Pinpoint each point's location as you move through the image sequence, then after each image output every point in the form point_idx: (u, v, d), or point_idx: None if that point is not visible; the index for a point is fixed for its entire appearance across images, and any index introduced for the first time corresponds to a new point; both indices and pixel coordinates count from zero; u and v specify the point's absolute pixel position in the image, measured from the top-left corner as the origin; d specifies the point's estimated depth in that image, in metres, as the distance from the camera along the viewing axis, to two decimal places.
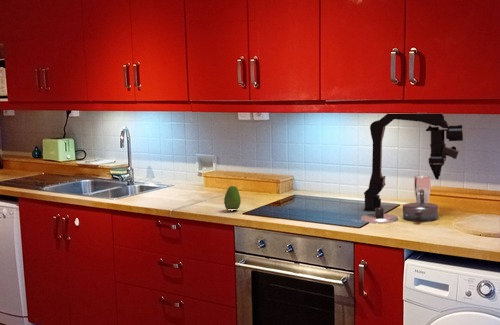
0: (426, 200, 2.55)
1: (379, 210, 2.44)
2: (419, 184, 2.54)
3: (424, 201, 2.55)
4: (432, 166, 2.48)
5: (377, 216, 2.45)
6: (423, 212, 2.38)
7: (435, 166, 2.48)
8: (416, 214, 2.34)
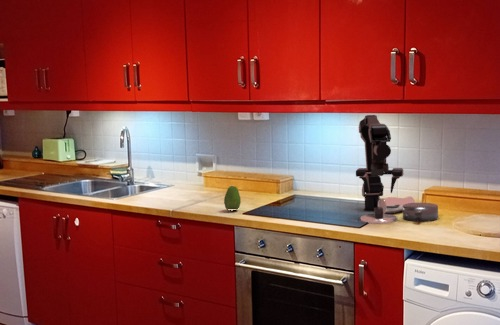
0: (402, 198, 2.57)
1: (378, 210, 2.44)
2: (392, 204, 2.52)
3: (404, 199, 2.57)
4: None
5: (376, 216, 2.44)
6: (423, 212, 2.38)
7: None
8: (416, 214, 2.34)
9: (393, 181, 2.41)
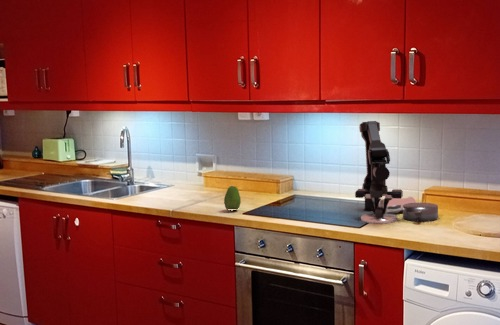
0: (404, 199, 2.56)
1: (379, 209, 2.43)
2: (393, 207, 2.52)
3: (405, 201, 2.56)
4: None
5: (377, 216, 2.44)
6: (423, 212, 2.38)
7: None
8: (416, 214, 2.34)
9: (386, 202, 2.43)
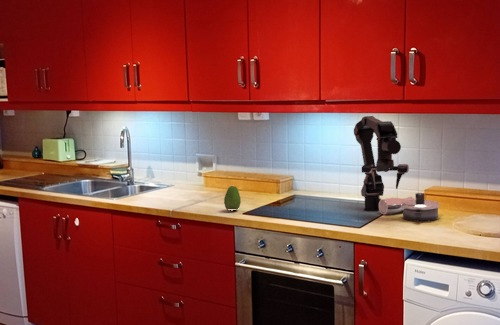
0: (404, 199, 2.56)
1: (420, 196, 2.42)
2: (393, 207, 2.52)
3: None
4: None
5: (418, 202, 2.42)
6: (423, 212, 2.38)
7: None
8: (416, 214, 2.34)
9: (398, 177, 2.44)
